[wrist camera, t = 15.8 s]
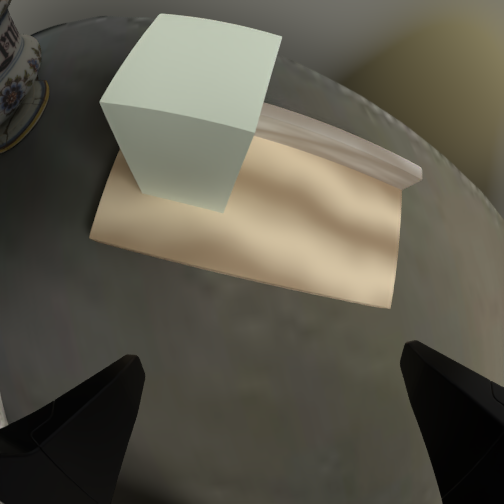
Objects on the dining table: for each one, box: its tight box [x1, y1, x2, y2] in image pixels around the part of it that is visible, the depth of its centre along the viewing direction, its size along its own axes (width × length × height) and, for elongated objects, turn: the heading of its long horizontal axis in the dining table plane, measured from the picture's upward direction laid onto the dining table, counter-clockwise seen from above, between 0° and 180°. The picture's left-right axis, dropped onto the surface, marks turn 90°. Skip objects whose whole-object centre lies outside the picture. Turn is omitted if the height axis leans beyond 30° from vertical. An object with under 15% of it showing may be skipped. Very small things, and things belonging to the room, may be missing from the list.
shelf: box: [89, 102, 422, 308], centre depth 20 cm, size 12×24×4 cm, turn 77°
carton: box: [99, 14, 282, 213], centre depth 15 cm, size 6×6×11 cm
